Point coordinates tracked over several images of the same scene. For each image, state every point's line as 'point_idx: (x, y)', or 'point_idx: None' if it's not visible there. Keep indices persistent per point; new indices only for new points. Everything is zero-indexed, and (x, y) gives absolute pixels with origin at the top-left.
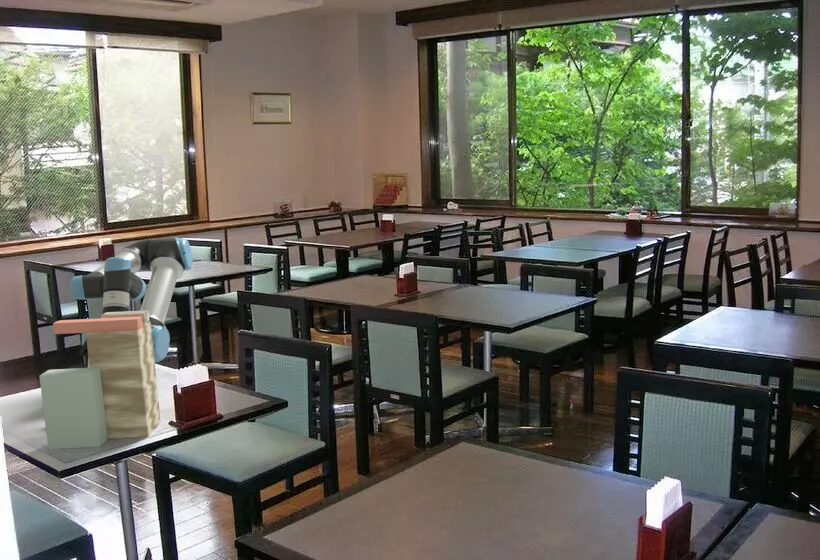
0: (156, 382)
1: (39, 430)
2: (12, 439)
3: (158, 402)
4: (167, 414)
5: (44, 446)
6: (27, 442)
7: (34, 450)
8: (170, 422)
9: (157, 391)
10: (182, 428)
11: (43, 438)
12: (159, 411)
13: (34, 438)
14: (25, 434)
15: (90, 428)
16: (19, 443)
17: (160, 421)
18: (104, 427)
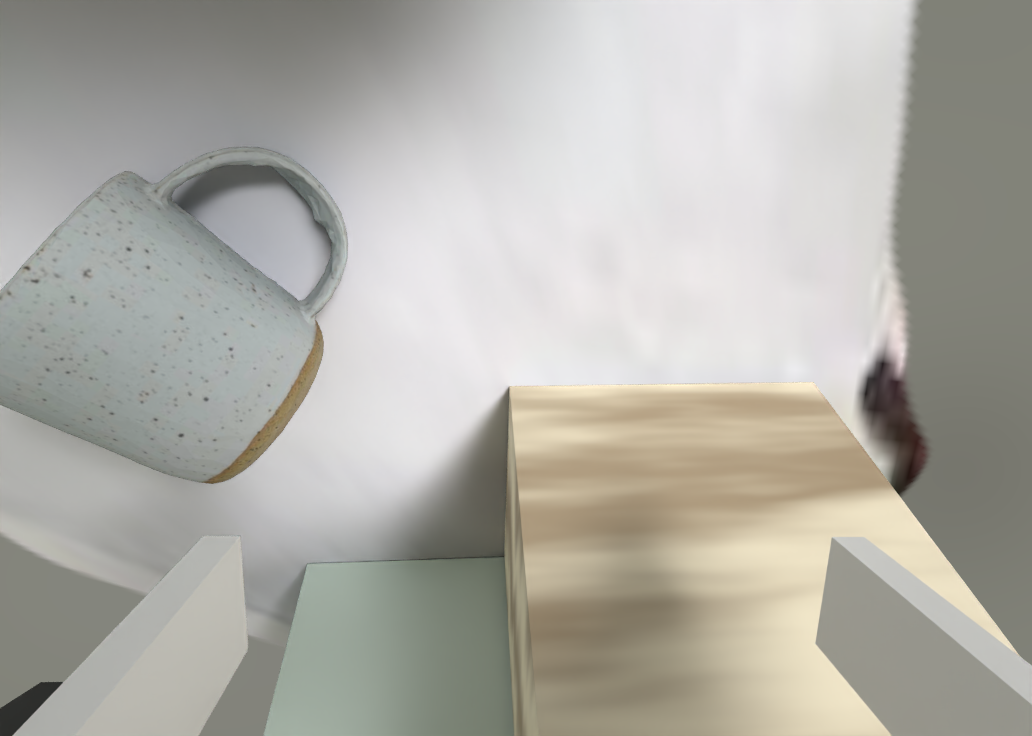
0: (1002, 641)
1: (35, 422)
2: (3, 526)
3: (887, 488)
4: (875, 221)
5: (280, 598)
6: (143, 561)
7: (266, 625)
8: (871, 382)
9: (944, 560)
10: (918, 470)
11: (189, 526)
12: (850, 434)
13: (132, 523)
14: (5, 472)
15: None
16: (108, 568)
17: (816, 389)
18: None
